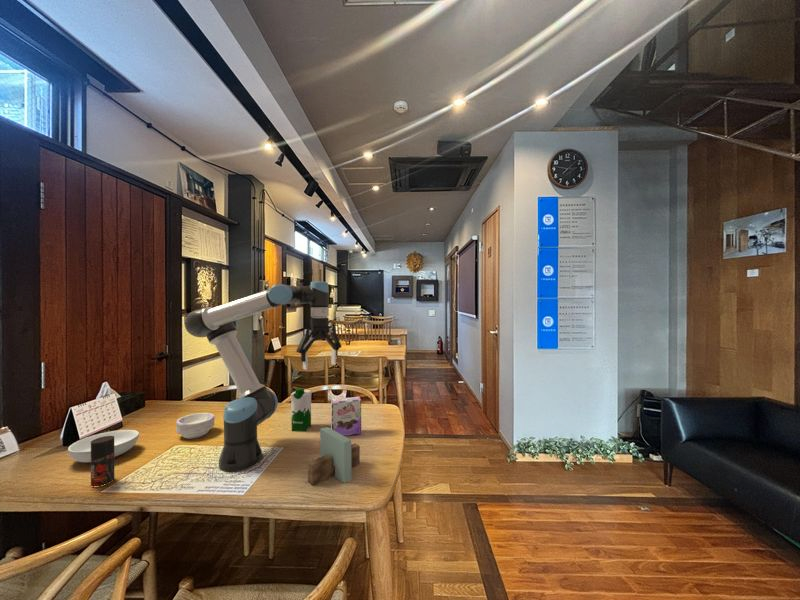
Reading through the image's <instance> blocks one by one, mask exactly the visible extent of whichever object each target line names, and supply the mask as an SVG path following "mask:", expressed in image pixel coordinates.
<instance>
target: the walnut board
mask: <svg viewBox="0 0 800 600" xmlns="http://www.w3.org/2000/svg"><path fill="white" fill-rule="evenodd" d="M360 448H361V446H360V445H359V444H358V443H351V469H352V468H354V467H356V466H359V465H360V464H361V463H360V462H361V461H360V460H361V459H360V456H361V455H360V452H361V449H360ZM332 477H335V466H333V465H332V457H331V456H330V455H328V454H327V455H324V456H322V457H320V456H319V457H317V458H315V459H312V460H309V461H308V462H307V482H308V483H309V484H310V485H311V486H316V485H318V484H319V483H322V482H323V481H326V480H328V479H330V478H332Z"/></svg>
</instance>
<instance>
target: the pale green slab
mask: <svg viewBox="0 0 800 600" xmlns="http://www.w3.org/2000/svg"><path fill="white" fill-rule="evenodd" d="M319 430H320V434H319V437H320V438H319V440H320V441H319V444H320V445H319V446H320V447H319V449H320V450H319V451H320V452H319V453H320V455H319V457H322V456H324V455H327V454H328V455H330V456H331V457H332V465H333V466H335V476H334V477H335V478H337V479H338V480H339V481H340V482H342V483H343V484H345V483H347V482H350V481H352V468H351V445H352V439H351V438H349V437H348V436H343V435H341V434H339V433H338V432H336V431H334V430H332V429H331V427H328V426H325V427H322V428H320V429H319Z"/></svg>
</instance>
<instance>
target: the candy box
mask: <svg viewBox="0 0 800 600" xmlns="http://www.w3.org/2000/svg"><path fill="white" fill-rule="evenodd" d="M330 402H331V403H330V404H331V405H330V408H331V409H330V411H331V413H330V415H331V416H330V417H331V419H330V421H331V422H330V423H331V424H330V425H331V426H330V429H332V430H334V431H336V432H338V433H339V434H341V435H343V436H345V437H348V436H349V437H350V436H356V435H357V436H358V435H362V399H361V396H353V397H342V398H341V397H340V398H339V397H338V398H331V401H330Z"/></svg>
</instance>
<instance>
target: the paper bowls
mask: <svg viewBox="0 0 800 600" xmlns="http://www.w3.org/2000/svg"><path fill="white" fill-rule="evenodd" d="M175 422H176V423H175V425H176V426H175V431H176V433H177V434H178V435H181V437H182V438H185V439H188V440H189V439H197V438H200V437H203V436H205V435H208V433H209V432H210V430H211V429H212V428H213V427H215V415H214V414H213V413H210V412H198V413H191V414H188V415H185V416H182V417H180V418H178V419H177V420H176V421H175Z"/></svg>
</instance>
